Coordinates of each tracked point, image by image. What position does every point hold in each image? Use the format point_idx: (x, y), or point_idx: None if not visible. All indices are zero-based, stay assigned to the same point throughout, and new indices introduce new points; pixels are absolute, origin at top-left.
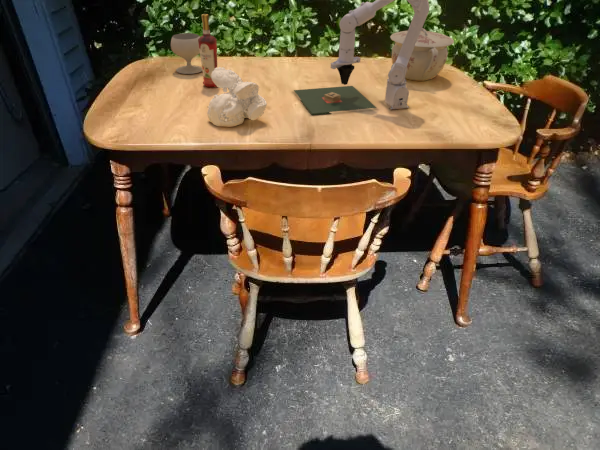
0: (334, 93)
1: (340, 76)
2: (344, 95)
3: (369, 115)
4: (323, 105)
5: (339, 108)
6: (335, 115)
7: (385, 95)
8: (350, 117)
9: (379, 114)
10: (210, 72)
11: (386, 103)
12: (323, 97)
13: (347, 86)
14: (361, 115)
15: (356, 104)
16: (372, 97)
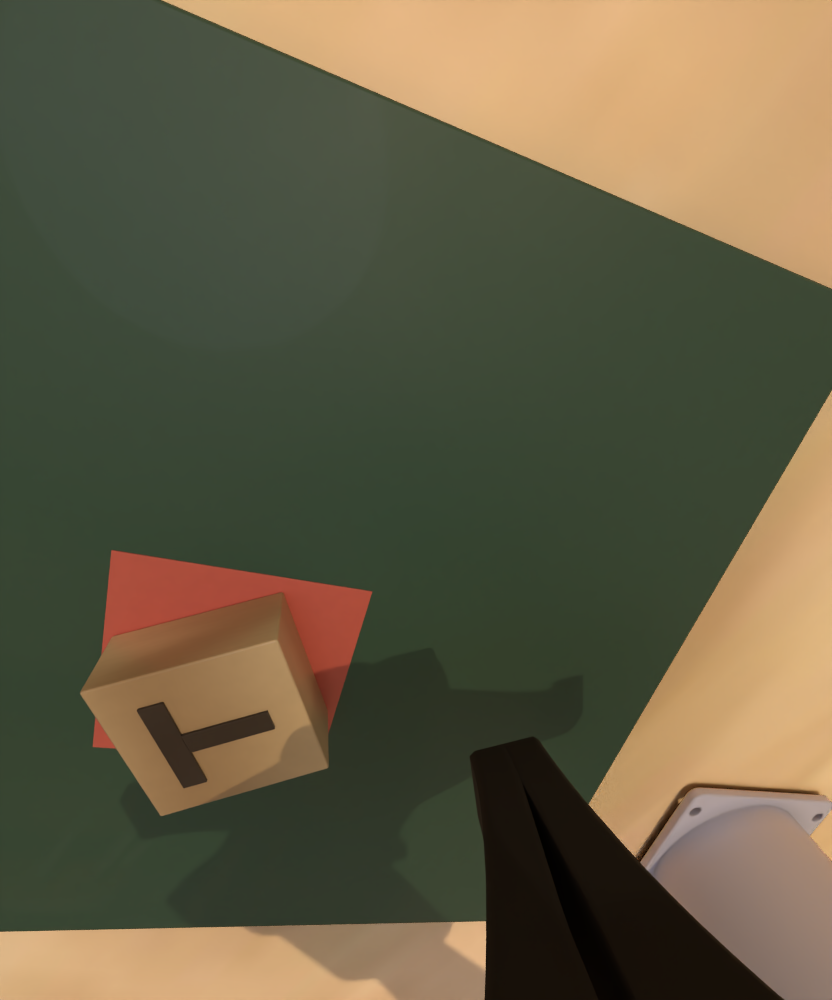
0: (278, 700)
1: (490, 915)
2: (483, 602)
3: (382, 964)
4: (10, 790)
5: (176, 885)
6: (79, 934)
7: (722, 913)
8: (204, 975)
9: (465, 960)
10: None
11: (658, 875)
12: (141, 562)
13: (803, 298)
14: (321, 958)
15: (414, 842)
16: (723, 687)
